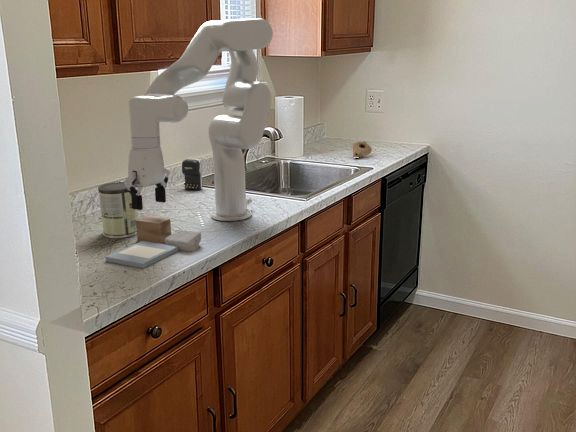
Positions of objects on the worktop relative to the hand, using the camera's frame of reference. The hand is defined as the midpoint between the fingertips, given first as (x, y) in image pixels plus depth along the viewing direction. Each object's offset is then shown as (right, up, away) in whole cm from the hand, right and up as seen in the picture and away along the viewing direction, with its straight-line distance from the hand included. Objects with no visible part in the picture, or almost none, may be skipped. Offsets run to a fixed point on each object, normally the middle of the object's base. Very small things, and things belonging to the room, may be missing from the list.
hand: (149, 205), depth 164 cm
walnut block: (+1, -10, +3) cm, 10 cm away
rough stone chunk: (+10, -11, -2) cm, 15 cm away
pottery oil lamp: (+72, +24, +118) cm, 140 cm away
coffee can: (-10, -8, +10) cm, 16 cm away
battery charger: (+2, +7, +61) cm, 61 cm away
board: (+1, -13, -10) cm, 16 cm away
